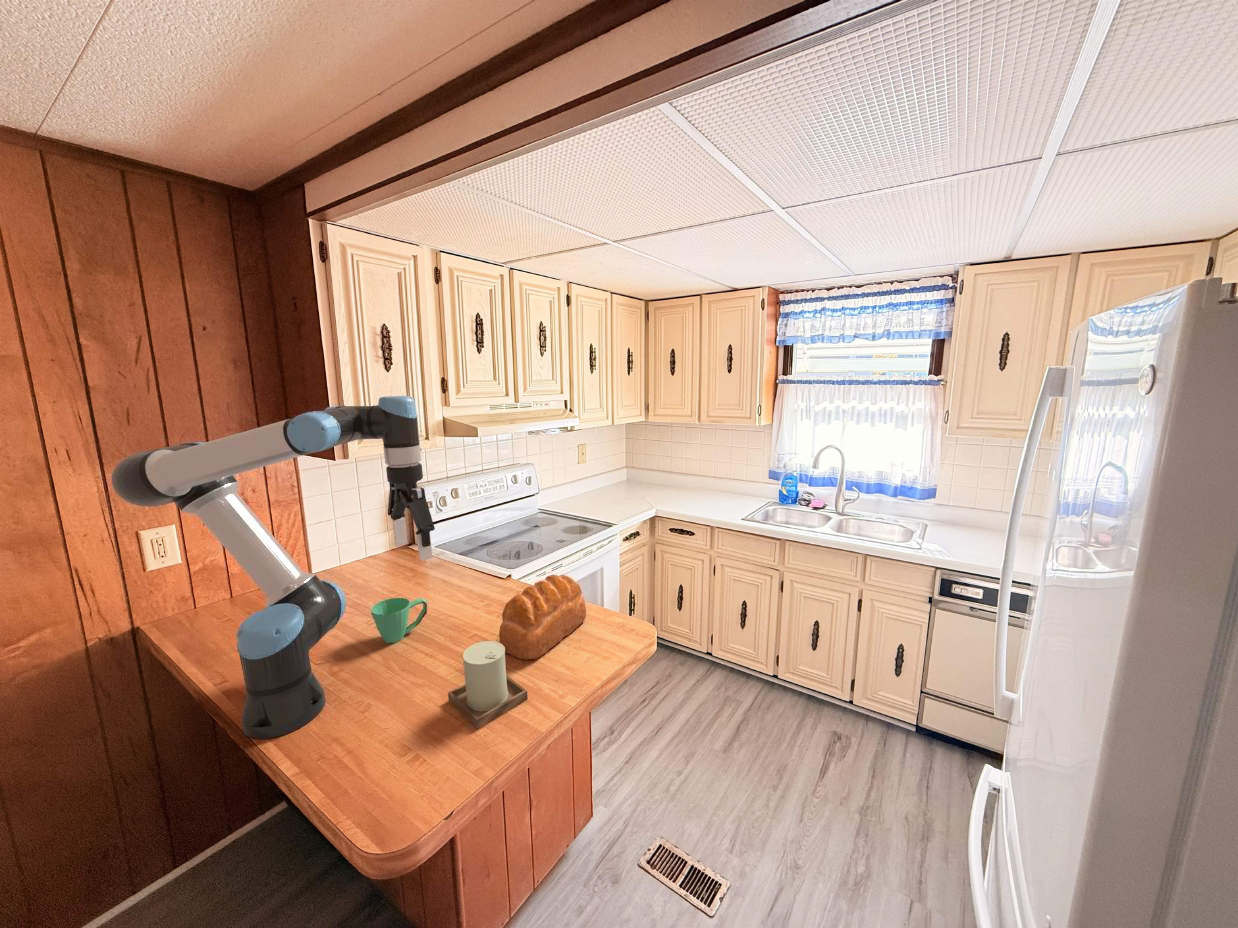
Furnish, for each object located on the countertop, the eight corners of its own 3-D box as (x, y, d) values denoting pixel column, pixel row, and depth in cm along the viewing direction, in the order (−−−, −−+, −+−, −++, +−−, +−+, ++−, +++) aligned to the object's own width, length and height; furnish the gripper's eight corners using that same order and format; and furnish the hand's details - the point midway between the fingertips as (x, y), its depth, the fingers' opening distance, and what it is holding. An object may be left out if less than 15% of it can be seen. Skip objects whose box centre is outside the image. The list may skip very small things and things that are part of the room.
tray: (477, 728, 101) (476, 720, 100) (448, 700, 109) (447, 692, 109) (527, 698, 109) (527, 690, 109) (497, 675, 118) (496, 667, 118)
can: (486, 717, 103) (482, 667, 101) (457, 702, 108) (453, 654, 105) (516, 692, 111) (513, 645, 108) (488, 679, 115) (485, 634, 113)
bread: (493, 650, 129) (489, 597, 126) (555, 608, 151) (553, 562, 148) (533, 666, 122) (530, 610, 119) (591, 619, 144) (590, 571, 141)
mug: (380, 652, 128) (375, 618, 126) (371, 637, 136) (366, 604, 134) (435, 633, 137) (432, 601, 136) (424, 619, 145) (420, 589, 143)
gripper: (445, 468, 104) (453, 560, 108) (398, 455, 121) (407, 535, 125) (410, 474, 99) (420, 571, 103) (366, 459, 116) (376, 543, 120)
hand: (413, 551), depth 114 cm, fingers open, 13 cm apart
